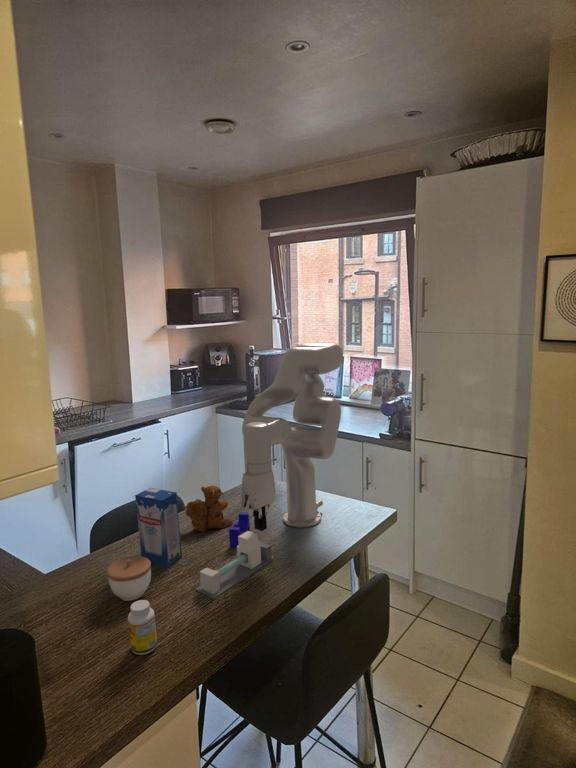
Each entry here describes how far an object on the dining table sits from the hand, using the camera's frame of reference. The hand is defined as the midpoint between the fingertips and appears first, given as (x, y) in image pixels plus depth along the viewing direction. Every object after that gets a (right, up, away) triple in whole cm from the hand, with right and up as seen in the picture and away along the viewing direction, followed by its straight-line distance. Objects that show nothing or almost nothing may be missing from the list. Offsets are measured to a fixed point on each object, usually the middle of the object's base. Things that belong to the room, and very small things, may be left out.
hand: (260, 528), depth 147 cm
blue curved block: (-8, -7, +14) cm, 18 cm away
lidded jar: (-32, -13, -14) cm, 38 cm away
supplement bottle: (-23, -16, -34) cm, 45 cm away
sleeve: (-3, -9, -2) cm, 10 cm away
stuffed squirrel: (-18, -6, +23) cm, 30 cm away
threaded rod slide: (-6, -10, -6) cm, 13 cm away
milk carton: (-29, -10, +3) cm, 31 cm away
